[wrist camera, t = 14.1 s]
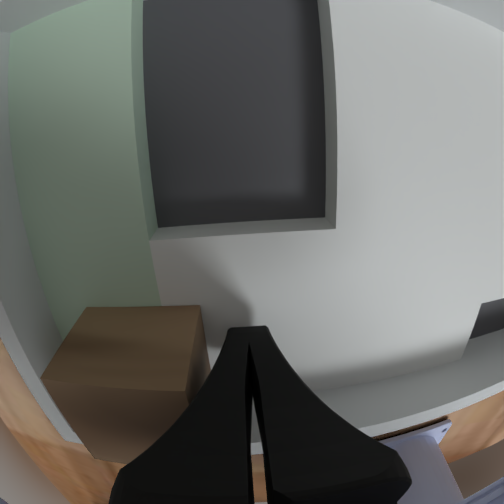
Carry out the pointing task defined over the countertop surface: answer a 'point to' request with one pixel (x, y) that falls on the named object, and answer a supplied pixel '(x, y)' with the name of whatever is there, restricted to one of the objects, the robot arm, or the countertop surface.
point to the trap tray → (263, 187)
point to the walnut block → (128, 375)
